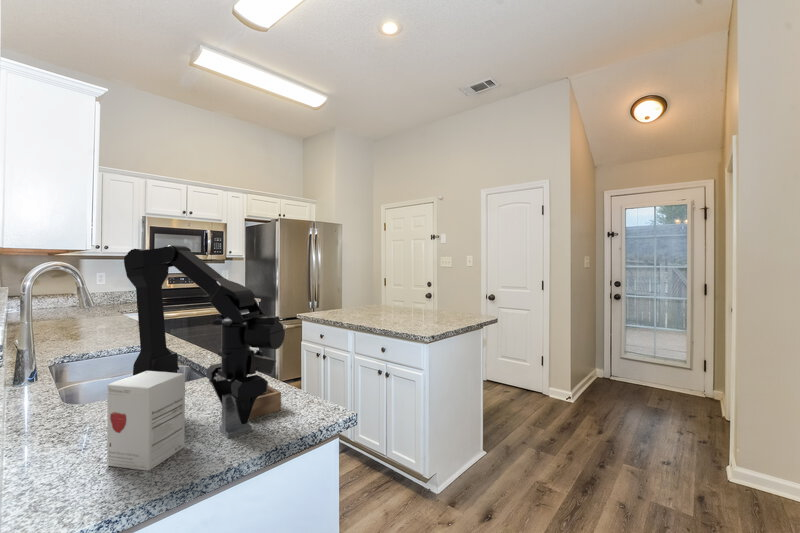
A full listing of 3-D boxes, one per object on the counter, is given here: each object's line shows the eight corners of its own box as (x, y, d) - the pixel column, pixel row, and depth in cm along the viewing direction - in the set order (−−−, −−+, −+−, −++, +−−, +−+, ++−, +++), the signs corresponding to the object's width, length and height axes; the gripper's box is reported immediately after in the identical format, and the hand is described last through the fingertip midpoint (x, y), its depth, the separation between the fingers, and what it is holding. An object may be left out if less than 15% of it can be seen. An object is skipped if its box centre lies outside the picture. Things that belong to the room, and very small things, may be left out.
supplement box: (104, 466, 66) (104, 384, 66) (146, 442, 75) (146, 369, 75) (148, 472, 65) (148, 387, 65) (186, 447, 74) (186, 372, 73)
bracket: (228, 438, 77) (228, 399, 77) (219, 431, 81) (219, 393, 81) (251, 431, 81) (251, 393, 81) (242, 423, 84) (242, 388, 84)
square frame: (244, 421, 86) (244, 401, 86) (229, 409, 92) (229, 391, 92) (280, 410, 92) (280, 392, 92) (264, 400, 98) (264, 383, 98)
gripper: (291, 347, 80) (290, 419, 80) (253, 334, 93) (253, 396, 93) (239, 356, 72) (238, 436, 72) (205, 341, 85) (205, 408, 85)
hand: (235, 417), depth 81 cm, fingers open, 9 cm apart
